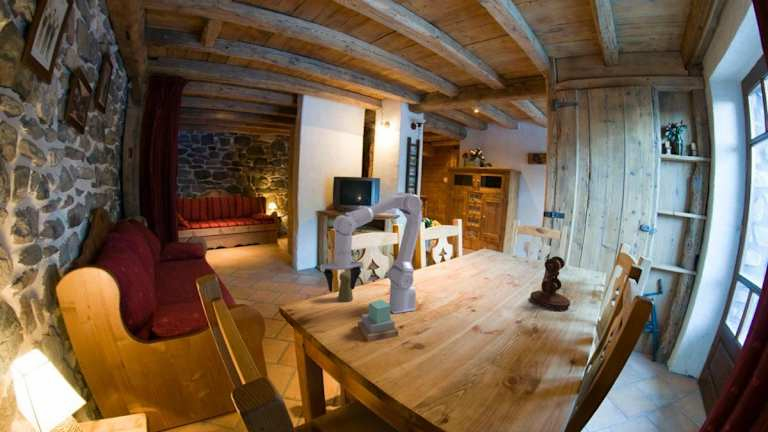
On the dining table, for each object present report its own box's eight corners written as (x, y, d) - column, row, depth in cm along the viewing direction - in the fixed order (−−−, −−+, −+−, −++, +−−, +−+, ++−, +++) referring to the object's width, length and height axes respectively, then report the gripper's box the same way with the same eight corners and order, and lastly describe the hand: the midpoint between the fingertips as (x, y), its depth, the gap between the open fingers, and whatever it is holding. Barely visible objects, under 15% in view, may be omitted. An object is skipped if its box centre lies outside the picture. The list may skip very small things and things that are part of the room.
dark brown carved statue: (537, 293, 138) (542, 251, 135) (573, 304, 128) (580, 259, 125) (524, 302, 128) (530, 256, 125) (563, 314, 117) (570, 265, 115)
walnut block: (385, 323, 105) (385, 317, 104) (397, 338, 96) (398, 331, 95) (357, 328, 101) (358, 321, 100) (368, 343, 92) (368, 336, 91)
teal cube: (381, 313, 101) (381, 299, 100) (389, 320, 97) (390, 305, 96) (368, 317, 98) (369, 302, 97) (376, 324, 94) (377, 309, 93)
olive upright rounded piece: (350, 303, 118) (351, 276, 116) (335, 301, 119) (336, 274, 118) (354, 297, 124) (355, 271, 122) (340, 295, 125) (341, 269, 123)
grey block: (383, 318, 103) (384, 311, 103) (394, 329, 96) (394, 322, 96) (361, 321, 100) (362, 314, 100) (370, 333, 93) (371, 326, 92)
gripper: (359, 247, 108) (357, 283, 110) (318, 249, 103) (317, 287, 104) (366, 252, 102) (364, 290, 104) (323, 254, 96) (322, 295, 98)
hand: (341, 289), depth 104 cm, fingers open, 7 cm apart
